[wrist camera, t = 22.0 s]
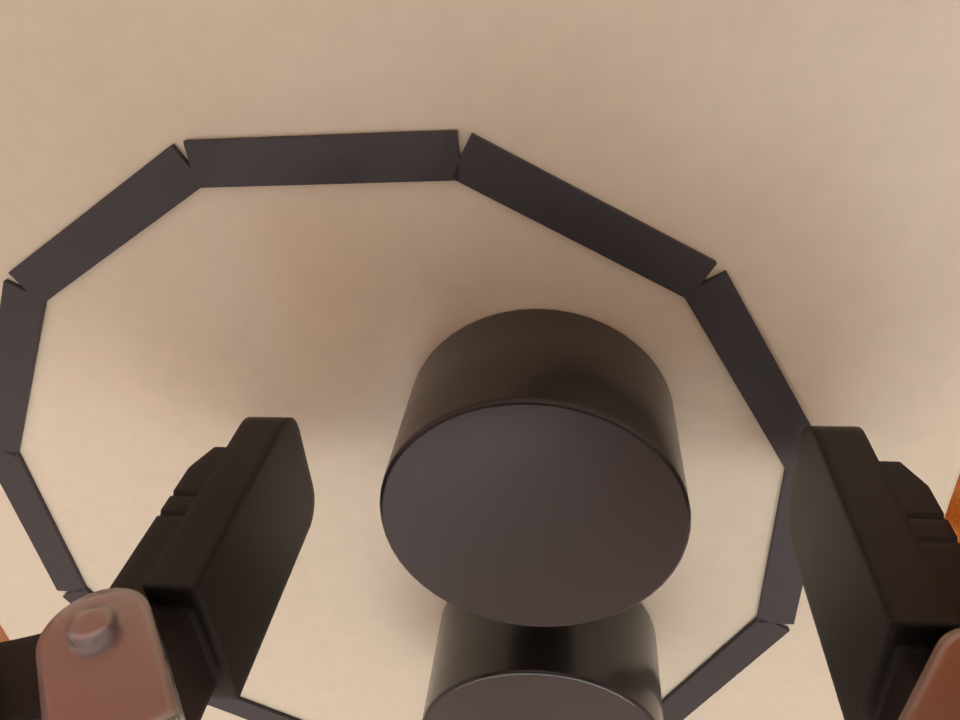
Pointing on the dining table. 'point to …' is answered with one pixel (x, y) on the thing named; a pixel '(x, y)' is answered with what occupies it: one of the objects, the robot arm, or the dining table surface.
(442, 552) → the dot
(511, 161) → the board
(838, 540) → the robot arm
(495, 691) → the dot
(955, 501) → the dining table surface
